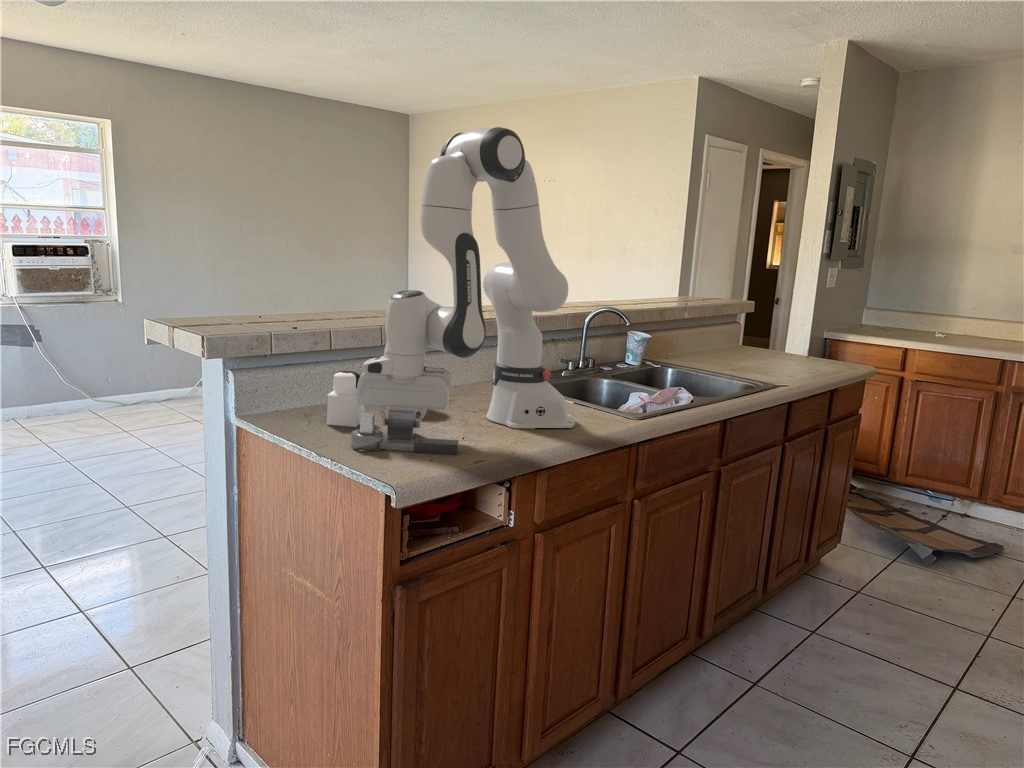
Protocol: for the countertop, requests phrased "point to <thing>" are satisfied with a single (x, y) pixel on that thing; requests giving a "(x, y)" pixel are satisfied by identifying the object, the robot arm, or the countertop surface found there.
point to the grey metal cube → (401, 423)
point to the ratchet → (373, 440)
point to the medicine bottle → (344, 400)
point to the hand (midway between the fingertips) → (401, 426)
